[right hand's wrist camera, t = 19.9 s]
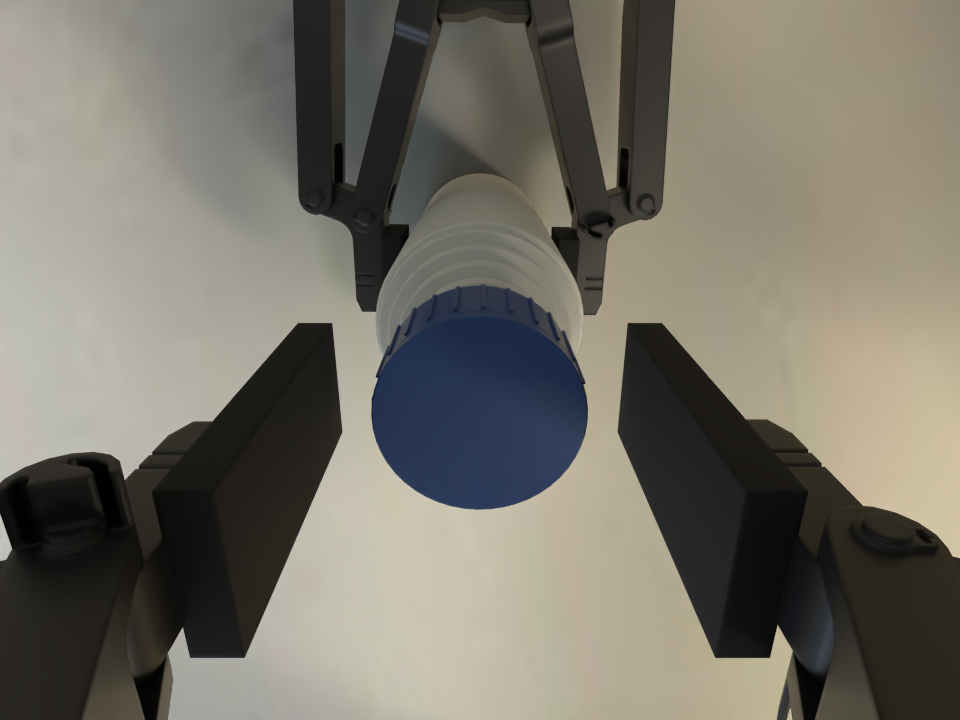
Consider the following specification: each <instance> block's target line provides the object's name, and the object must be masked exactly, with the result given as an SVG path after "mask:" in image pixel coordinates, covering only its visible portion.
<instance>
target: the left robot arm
mask: <svg viewBox="0 0 960 720" xmlns="http://www.w3.org/2000/svg"><path fill="white" fill-rule="evenodd" d="M674 9H675V0H624V5H623V16H622V43H621V72H620V101H619V130H618V159H617V187H615V188H613V189H610V190H607V191H606V187H605V182H604V177H603V173H602V168H601V163H600V159H599V154H598V149H597V144H596V140H595V135H594V130H593V126H592V121H591V116H590V111H589V107H588V102H587V97H586V93H585V88H584V83H583V78H582V74H581V69H580V64H579V59H578V55H577V50H576V45H575V40H574V27H573V20H572V14H571V10H570V5H569V0H400V1H399V5H398V9H397V14H396V18H395V25H394V35H393V39H392V44H391V48H390V52H389V56H388V60H387V64H386V68H385V72H384V76H383V80H382V84H381V88H380V92H379V96H378V100H377V104H376V108H375V112H374V116H373V120H372V124H371V128H370V132H369V136H368V140H367V144H366V148H365V152H364V156H363V160H362V164H361V168H360V172H359V176H358V180H357V184H356V186H353V185H350V184H348V183H345V2H344V0H293V10H294V46H295V82H296V117H297V153H298V189H299V200H300V204H301V205H302V207H303V208H304V209H305V210H306V211H307V212H309V213H311V214H315V215H318V214H322V215H324V216H327V217H330V218H332V219H335V220H338V221H340V222H342V223H343V224H344V225H346V226H347V227H348V229H349V230H350V232H351V234H352V237H353V246H354V263H355V280H356V297H357V301H358V303H359V305H360V308H361V310H362V312H376V308H377V302H378V298H379V293H380V290H381V288H382V285H383V282H384V280H385V278H386V276H387V274H388V272H389V271H390V269H391V267H392V265H393V264H394V262H395V260H396V258H397V257H398V255H399V253H400V251H401V250H402V248H403V246H404V245H405V243H406V241H407V239H408V238H409V225H404V224H390V225H389V215H390V214H391V212H392V210H391V207H392V204H393V200H394V196H395V193H396V189H397V185H398V182H399V178H400V174H401V171H402V167H403V163H404V160H405V156H406V152H407V149H408V145H409V141H410V138H411V134H412V130H413V127H414V123H415V119H416V116H417V112H418V108H419V105H420V101H421V97H422V93H423V90H424V86H425V82H426V79H427V75H428V71H429V68H430V64H431V60H432V57H433V53H434V51H435V48H436V46H437V43H438V39H439V36H440V32H441V28H442V25H443V22H464V21H467V20H471V19H474V18H478V17H482V16H486V17H489V18H492V19H495V20H499V21H502V22H505V23H524V24H525V28H526V32H527V37H528V41H529V45H530V48H531V51H532V53H533V56H534V61H535V65H536V69H537V73H538V77H539V82H540V86H541V90H542V94H543V99H544V103H545V107H546V111H547V116H548V120H549V124H550V128H551V133H552V137H553V141H554V145H555V150H556V154H557V158H558V162H559V166H560V171H561V175H562V179H563V183H564V188H565V192H566V196H567V200H568V205H569V209H570V213H571V217H572V226H571V228H570V227H552V235H551V238H552V240H553V242H554V243H555V245H556V247H557V249H558V250H559V252H560V254H561V256H562V257H563V259H564V261H565V263H566V264H567V266H568V268H569V270H570V272H571V273H572V275H573V277H574V279H575V281H576V284H577V286H578V289H579V292H580V295H581V300H582V305H583V315H596V313H597V311H598V309H599V307H600V305H601V303H602V292H603V281H604V280H603V278H604V270H605V260H606V249H607V242H608V239H609V237H610V236H611V235H612V233H613V232H614V230H615V229H617V228H618V227H620V226H622V225H625V224H628V223H631V222H634V221H637V220H648V219H652V218H653V217H655V216H656V215H657V214H658V213H659V211H660V210H661V207H662V203H663V187H664V171H665V155H666V138H667V122H668V106H669V90H670V74H671V58H672V42H673V26H674Z"/></svg>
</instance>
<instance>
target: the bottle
mask: <svg viewBox="0 0 960 720" xmlns="http://www.w3.org/2000/svg"><path fill="white" fill-rule="evenodd" d="M481 284H485V286H493V287H499V288H503V289H506V288H510V290H511V291H513V292H516V293H519V294H521V295H523V296H525V297H527V298H529V297H531V298H533V301H534V302H535V303H536V304H538V305H539V306H541V307H542V308H543V309H544V310H545V311H546V312H547V313H548V312H551V313H552V316H553V319H554V321H555V322H556V323H557V324H558V326H559V327H560V329H561V331H563V330H564V331H565V332H566V335H567V337H568V340H569V342H570V345H571V347H572V350H573V352H574V355H575V357H576V356H577V353H578V350H579V348H580V344H581V339H582V335H583V324H584V315H583V305H582V300H581V295H580V292H579V289H578V286H577V284H576V281H575V279H574V277H573V275H572V273H571V272H570V270H569V268H568V266H567V264H566V263H565V261H564V259H563V257H562V256H561V254H560V252H559V250H558V249H557V247H556V245H555V243H554V242H553V240H552V238H551V237H550V235H549V233H548V231H547V230H546V228H545V226H544V224H543V223H542V221H541V219H540V217H539V216H538V214H537V212H536V210H535V209H534V207H533V205H532V203H531V202H530V200H529V199H528V197H527V196H526V195H525V194H524V193H523V192H522V190H521V189H519V188H518V187H517V186H516V185H515V184H513V183H511V182H510V181H508V180H506V179H504V178H502V177H499V176H496V175H492V174H485V173H475V174H468V175H464V176H460V177H458V178H456V179H453V180H452V181H450V182H448V183H447V184H445V185H444V186H443V187H441V188H440V189H439V190H438V191H437V192H436V193H435V194H434V196H433V197H432V199H431V200H430V201H429V203H428V205H427V207H426V208H425V210H424V212H423V213H422V215H421V217H420V219H419V220H418V222H417V224H416V226H415V227H414V229H413V231H412V232H411V234H410V236H409V238H408V239H407V241H406V243H405V245H404V246H403V248H402V250H401V251H400V253H399V255H398V257H397V258H396V260H395V262H394V264H393V265H392V267H391V269H390V271H389V272H388V274H387V276H386V278H385V280H384V282H383V285H382V288H381V290H380V293H379V298H378V302H377V308H376V332H377V337H378V342H379V346H380V349H381V352H382V355H383V357H384V354H385V352H386V349H387V347H388V345H389V346H390V344H391V341H392V338H393V336H394V333H395V331H396V328H397V326H398V325H400V326H401V325H402V324H403V322H404V321H405V319H406V318H407V317H408V316H409V315H410V314H411V311H412V309H413V308H414V307H415V308H418V307H419V306H420V305H421V304H423V303H424V302H426V301H427V300H429V299H431V298H432V295H434V294H436V295H439V294H441V293H443V292H446V291H449V290H452V289H456V286H460V287H467V286H481Z"/></svg>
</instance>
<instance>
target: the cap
mask: <svg viewBox="0 0 960 720" xmlns="http://www.w3.org/2000/svg"><path fill="white" fill-rule="evenodd" d="M376 378H378V380H377V383H376V386H375V389H374V394H373V397H372V413H371V417H372V425H373V431H374V435H375V439H376V442H377V444H378V446H379V449H380V451H381V453H382V455H383V457H384V458H385V460H386V462H387V463H388V465H389V466H390V467H391V468H392V470H393V471H394V472H395V473H396V474H397V475H398V476H399V477H400V478H401V479H402V480H403V481H404V482H405V483H406V484H407V485H409V486H410V487H411V488H413V489H414V490H415V491H417V492H419V493H420V494H422V495H424V496H426V497H428V498H430V499H432V500H434V501H437V502H439V503H443V504H446V505H449V506H453V507H459V508H464V509H494V508H501V507H506V506H510V505H514V504H517V503H520V502H522V501H525V500H527V499H530V498H531V497H533V496H535V495H537V494H539V493H541V492H542V491H544V490H545V489H547V488H548V487H550V486H551V485H552V484H553V483H554V482H555V481H557V480H558V479H559V478H560V477H561V476H562V475H563V473H564V472H565V471H566V470H567V469H568V468H569V466H570V465H571V463H572V462H573V460H574V459H575V457H576V455H577V453H578V451H579V449H580V447H581V445H582V442H583V439H584V436H585V432H586V426H587V418H588V406H587V397H586V393H585V389H584V385H583V384H585V380H584V378H583V375H582V373H581V370H580V367H579V365H578V362H577V360H576V357H575V355H574V352H573V350H572V347H571V345H570V342H569V340H568V337H567V335H566V332H565V331H564V330H563V331H561V329H560V327H559V326H558V324H557V323H556V322H555V321H554V319H553V316H552V313H551V312H548V313H547V312H546V311H545V310H544V309H543V308H542V307H541V306H539V305H538V304H536V303H535V302H534V301H533V298H531V297H529V298H527V297H525V296H523V295H521V294H519V293H516V292H513V291H511V290H510V288H506V289H503V288H499V287H493V286H485V284H481V286H467V287H460V286H456V289H452V290H449V291H446V292H443V293H441V294H439V295H436V294H434V295H432V298H431V299H429V300H427V301H426V302H424V303H423V304H421V305H420V306H419V307H418V308H415V307H414V308H413V309H412V311H411V314H410V315H409V316H408V317H407V318H406V319H405V321H404V322H403V324H402V325H401V326H400V325H398V326H397V328H396V331H395V333H394V336H393V338H392V341H391V344H390V346H389V345H388V347H387V349H386V352H385V354H384V357H383V359H382V362H381V364H380V367H379V369H378V372H377V374H376Z"/></svg>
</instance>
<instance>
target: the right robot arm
mask: <svg viewBox="0 0 960 720" xmlns="http://www.w3.org/2000/svg"><path fill="white" fill-rule="evenodd" d="M341 434H342V423H341V412H340V402H339V391H338V380H337V370H336V359H335V348H334V338H333V327H332V323H298V324H297V325H296V326H295V327H294V328H293V330H292V331H291V332H290V333H289V334H288V335H287V336H286V338H285V339H284V340H283V341H282V342H281V343H280V344H279V346H278V347H277V348H276V349H275V350H274V351H273V353H272V354H271V355H270V356H269V357H268V358H267V359H266V361H265V362H264V363H263V364H262V365H261V366H260V367H259V369H258V370H257V371H256V372H255V373H254V374H253V376H252V377H251V378H250V379H249V380H248V381H247V382H246V384H245V385H244V386H243V387H242V388H241V389H240V390H239V392H238V393H237V394H236V395H235V396H234V397H233V399H232V400H231V401H230V402H229V403H228V404H227V405H226V407H225V408H224V409H223V410H222V411H221V412H220V413H219V415H218V416H217V417H216V418H215V419H214V420H213V422H192V423H190V424H188V425H186V426H185V427H183V428H181V429H179V430H177V431H176V432H174V433H172V434H170V435H168V436H167V437H166V438H165V439H164V440H163V442H162V443H161V444H160V445H159V446H158V447H157V448H156V449H155V450H154V451H153V452H152V455H149V456H148V457H147V458H146V459H145V460H144V461H143V462H142V463H141V464H140V465H139V469H135V470H134V471H133V472H132V473H131V475H130V476H129V477H128V478H127V479H126V480H124V476H123V472H122V468H121V464H120V461H119V460H117V459H116V458H114V457H113V456H112V455H109V454H103V453H96V452H87V453H72V454H68V455H63V456H59V457H54V458H49V459H46V460H44V461H41V462H38V463H35V464H33V465H30V466H27V467H25V468H23V469H21V470H19V471H18V472H16V473H14V474H12V475H10V476H9V477H7V478H5V479H4V480H3V481H2V482H1V483H0V514H1V517H2V520H3V523H4V526H5V529H6V532H7V535H8V538H9V541H10V543H11V546H12V551H11V552H10V554H9V556H8V558H7V560H4V561H0V720H168V713H169V706H170V698H171V691H172V683H173V676H172V669H171V664H170V660H169V656H168V652H169V650H170V648H171V646H172V645H173V643H174V641H175V639H176V638H177V636H178V634H179V633H180V631H181V629H182V627H183V629H184V633H185V637H186V642H187V646H188V650H189V655H190V658H245V656H246V653H247V651H248V649H249V646H250V644H251V642H252V639H253V637H254V635H255V633H256V630H257V628H258V626H259V623H260V621H261V619H262V616H263V614H264V612H265V609H266V607H267V605H268V603H269V600H270V598H271V596H272V593H273V591H274V589H275V586H276V584H277V582H278V579H279V577H280V575H281V572H282V570H283V568H284V566H285V563H286V561H287V559H288V556H289V554H290V552H291V549H292V547H293V545H294V542H295V540H296V538H297V536H298V533H299V531H300V529H301V526H302V524H303V522H304V519H305V517H306V515H307V512H308V510H309V508H310V505H311V503H312V501H313V499H314V496H315V494H316V492H317V489H318V487H319V485H320V482H321V480H322V478H323V475H324V473H325V471H326V469H327V466H328V464H329V462H330V459H331V457H332V455H333V452H334V450H335V448H336V445H337V443H338V441H339V439H340V436H341ZM618 434H619V436H620V439H621V441H622V443H623V445H624V448H625V450H626V452H627V455H628V457H629V459H630V462H631V464H632V466H633V469H634V471H635V473H636V475H637V478H638V480H639V482H640V485H641V487H642V489H643V492H644V494H645V496H646V499H647V501H648V503H649V505H650V508H651V510H652V512H653V515H654V517H655V519H656V522H657V524H658V526H659V529H660V531H661V533H662V536H663V538H664V540H665V542H666V545H667V547H668V549H669V552H670V554H671V556H672V559H673V561H674V563H675V566H676V568H677V570H678V572H679V575H680V577H681V579H682V582H683V584H684V586H685V589H686V591H687V593H688V596H689V598H690V600H691V603H692V605H693V607H694V609H695V612H696V614H697V616H698V619H699V621H700V623H701V626H702V628H703V630H704V633H705V635H706V637H707V639H708V642H709V644H710V646H711V649H712V651H713V653H714V656H715V658H770V655H771V650H772V646H773V642H774V637H775V633H776V629H777V625H778V626H779V628H780V629H781V631H782V633H783V634H784V636H785V638H786V640H787V641H788V643H789V645H790V646H791V648H792V650H793V652H792V656H791V660H790V664H789V668H788V672H787V676H786V680H785V684H784V688H783V692H782V696H781V700H780V704H779V709H778V716H777V720H787V716H788V712H789V709H790V708H791V711H792V719H793V720H960V558H956V557H952V555H951V553H950V551H949V549H948V548H947V547H946V545H945V544H944V543H943V542H942V541H941V540H940V538H939V537H938V536H937V535H936V534H934V533H933V532H931V531H930V530H928V529H927V528H925V527H924V526H922V525H921V524H919V523H918V522H916V521H914V520H911V519H909V518H907V517H904V516H902V515H900V514H897V513H895V512H891V511H887V510H883V509H879V508H875V507H868V506H863V505H862V504H861V503H860V502H859V501H858V500H857V499H856V498H855V497H854V496H853V495H852V494H851V493H850V492H849V491H848V490H847V489H846V488H845V487H844V486H843V485H842V484H841V483H840V482H839V481H838V480H837V479H836V478H835V477H834V476H833V475H832V474H831V473H830V472H829V471H828V470H827V469H826V468H825V467H822V466H821V462H820V461H819V460H818V459H817V458H816V457H815V456H814V455H813V454H812V453H808V449H807V448H806V447H805V446H804V445H803V444H802V443H801V442H800V441H799V440H798V439H797V438H796V437H795V436H794V435H793V434H792V433H790V432H789V431H787V430H785V429H783V428H781V427H780V426H778V425H776V424H774V423H772V422H771V421H769V420H746V419H745V418H744V417H743V416H742V415H741V413H740V412H739V411H738V410H737V409H736V408H735V407H734V405H733V404H732V403H731V402H730V401H729V400H728V399H727V397H726V396H725V395H724V394H723V393H722V392H721V390H720V389H719V388H718V387H717V386H716V385H715V384H714V382H713V381H712V380H711V379H710V378H709V377H708V376H707V374H706V373H705V372H704V371H703V370H702V369H701V367H700V366H699V365H698V364H697V363H696V362H695V361H694V359H693V358H692V357H691V356H690V355H689V354H688V353H687V351H686V350H685V349H684V348H683V347H682V346H681V344H680V343H679V342H678V341H677V340H676V339H675V338H674V336H673V335H672V334H671V333H670V332H669V331H668V330H667V328H666V327H665V326H664V325H663V324H662V323H628V327H627V338H626V348H625V359H624V370H623V380H622V391H621V402H620V412H619V423H618Z"/></svg>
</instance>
